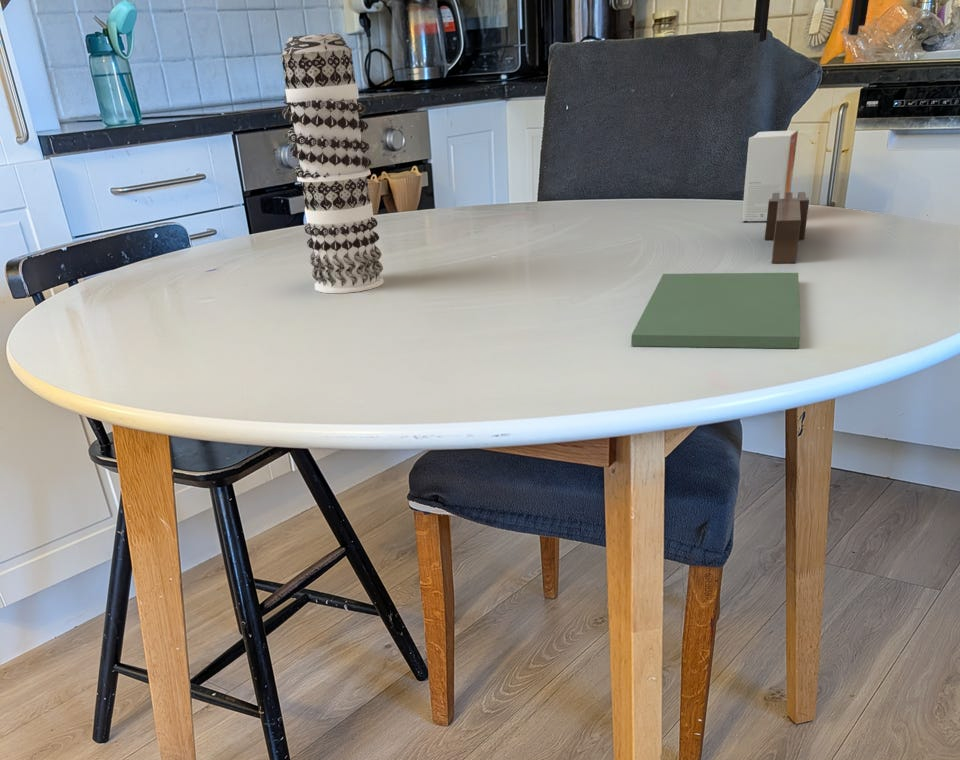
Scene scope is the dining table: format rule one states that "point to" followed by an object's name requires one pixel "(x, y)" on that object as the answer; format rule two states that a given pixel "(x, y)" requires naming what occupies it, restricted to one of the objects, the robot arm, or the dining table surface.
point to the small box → (767, 171)
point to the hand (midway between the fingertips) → (806, 38)
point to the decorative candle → (331, 162)
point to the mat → (722, 311)
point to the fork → (786, 225)
